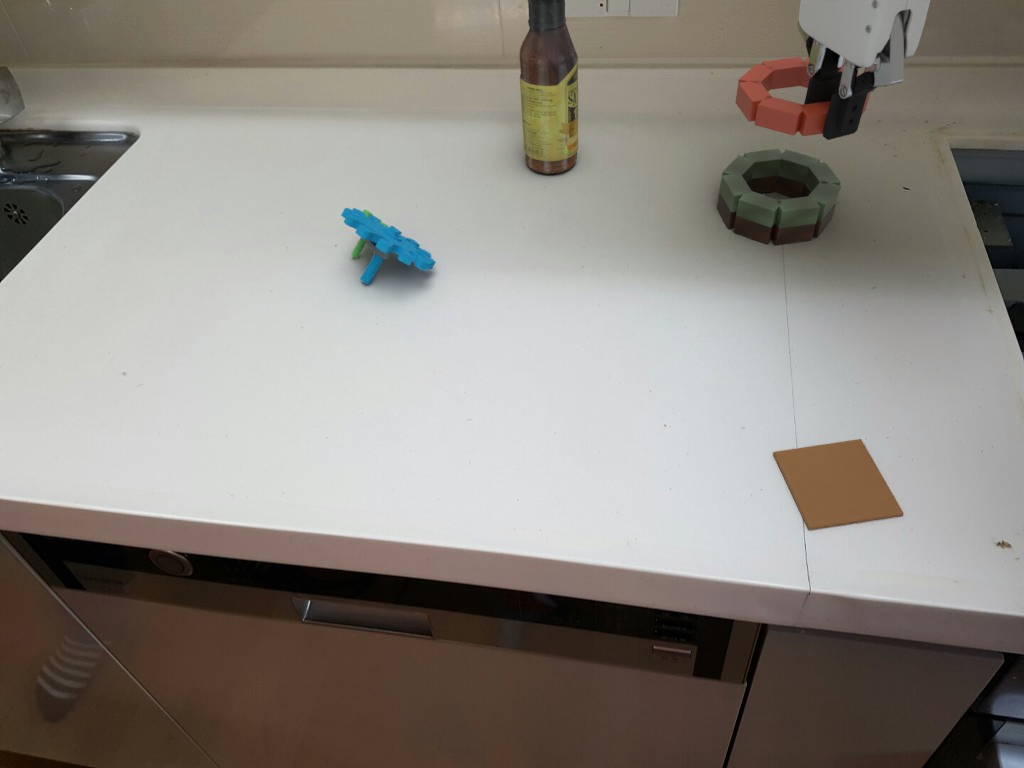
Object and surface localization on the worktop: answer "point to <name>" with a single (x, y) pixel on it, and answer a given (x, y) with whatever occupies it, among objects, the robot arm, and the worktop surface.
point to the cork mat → (836, 484)
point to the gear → (383, 243)
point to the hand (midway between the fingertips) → (828, 125)
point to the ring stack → (772, 216)
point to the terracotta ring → (779, 111)
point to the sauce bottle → (549, 89)
